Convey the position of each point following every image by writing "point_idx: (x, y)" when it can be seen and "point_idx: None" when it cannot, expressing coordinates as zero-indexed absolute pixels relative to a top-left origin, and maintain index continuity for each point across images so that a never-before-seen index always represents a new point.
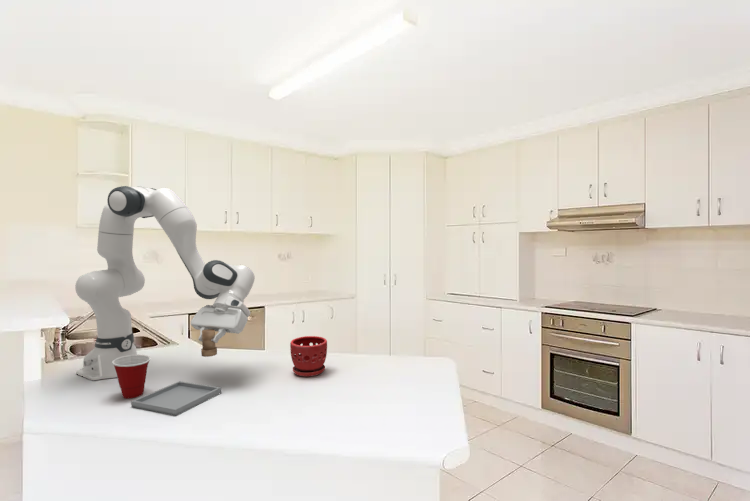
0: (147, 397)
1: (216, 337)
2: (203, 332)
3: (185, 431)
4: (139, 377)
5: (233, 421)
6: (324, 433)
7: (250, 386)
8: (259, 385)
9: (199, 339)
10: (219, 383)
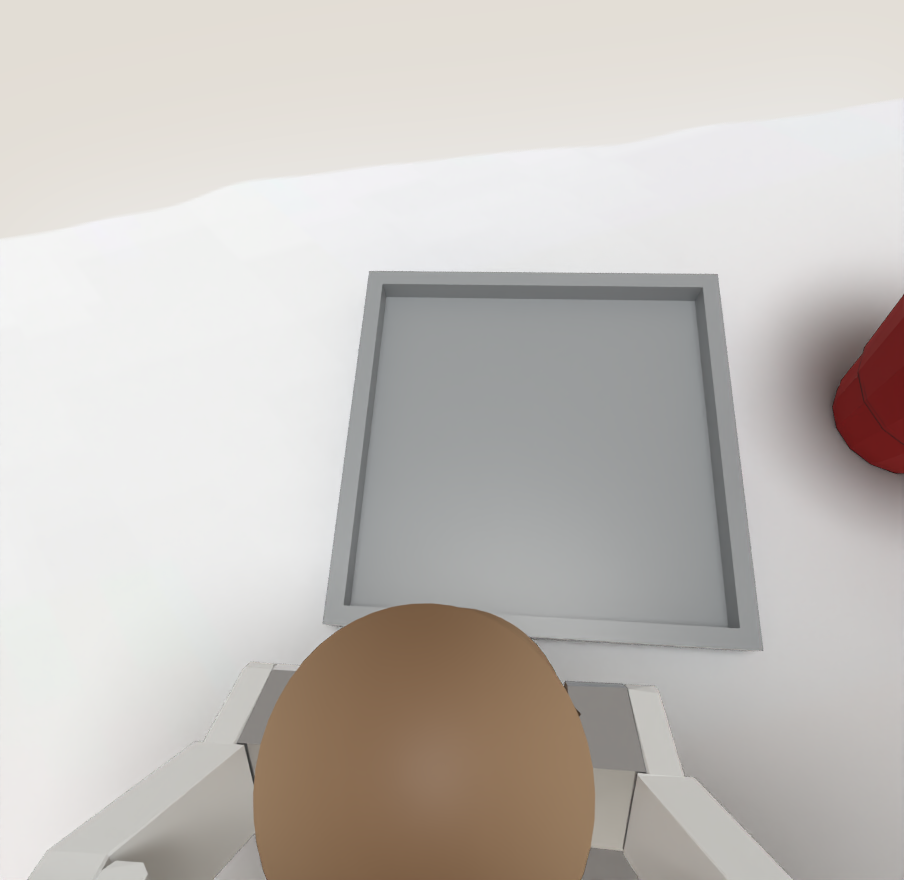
0: (706, 365)
1: (220, 734)
2: (446, 607)
3: (223, 206)
4: (891, 339)
5: (59, 331)
6: None
7: None
8: None
9: (624, 687)
10: None
